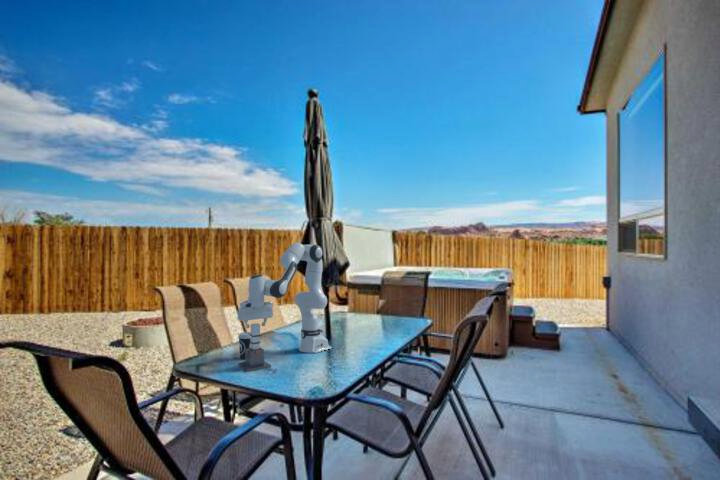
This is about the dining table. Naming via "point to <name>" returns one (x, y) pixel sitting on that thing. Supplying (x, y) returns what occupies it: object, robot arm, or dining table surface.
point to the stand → (254, 360)
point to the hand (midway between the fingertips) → (255, 326)
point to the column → (255, 337)
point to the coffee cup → (244, 343)
